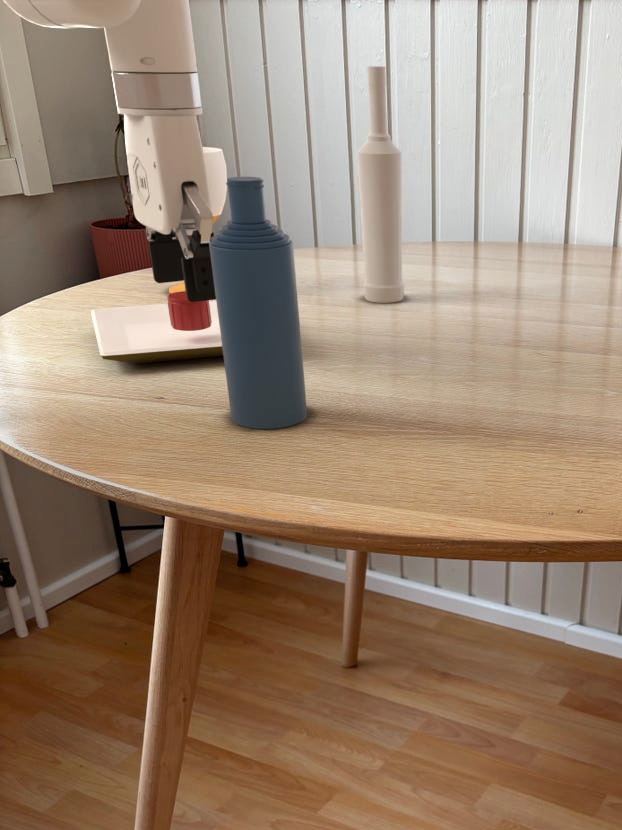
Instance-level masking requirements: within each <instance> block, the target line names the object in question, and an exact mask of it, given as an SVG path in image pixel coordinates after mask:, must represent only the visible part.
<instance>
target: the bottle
mask: <svg viewBox="0 0 622 830" xmlns="http://www.w3.org/2000/svg"><path fill="white" fill-rule="evenodd" d="M366 72H367V73H366V74H367V75H366V76H367V87H368V109H369V110H368V111H369V112H368V113H369V114H368V116H369V133H368V134H367V135H366V140H365V142H364V143H363V144H362V145H361V146H360V148H358V149H357V151H356V157H357V158H356V159H357V175H358V176H357V177H358V190H359V204H360V205H359V206H360V220H361V223H360V224H361V236H362V238H361V239H362V252H363V268H364V270H363V271H364V281H363V284H362V288H363V296H364V298H365V300H366V301H368V302H371V303H377V304H390V303H392V304H393V303H397V302H400V301H402V300H404V295H405V282H404V281H403V204H402V203H403V200H402V199H403V197H402V196H403V195H402V194H403V193H402V189H403V188H402V185H403V184H402V183H403V182H402V181H403V180H402V177H403V175H402V150H400V149H399V148H398V147H397V145H395V143H394V142H393V141H392V140H391V135H390V134H389V133H388V119H387V116H388V115H387V91H386V87H387V72H386V66H382V65H378V66H377V65H367V66H366Z"/></svg>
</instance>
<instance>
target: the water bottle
mask: <svg viewBox="0 0 622 830" xmlns="http://www.w3.org/2000/svg"><path fill="white" fill-rule="evenodd" d="M263 183H264V179H263V178H261V177H259V176H258V177H257V176H232V177H227V183H226V185H227V192H228V193H227V194H228V202H229V210H230V220H227V221H226V224H225V225H223V226H222V227H221V229H220V230H218V231H217V232H216V234H214V236H213V237H212V238H211V242H210V243H209V248H210V256H211V264H212V271H213V279H214V287H215V295H216V299H215V300H216V302H217V310H218V318H219V326H220V333H221V341H222V349H223V356H222V357H223V363H224V364H223V365H224V370H225V371H224V372H225V379H226V388H227V395H228V403H229V411H230V417H231V421H232V422H233V423H234V424H235V425H237V426H240V427H243V428H248V429H254V430H255V429H256V430H273V429H274V430H275V429H282V428H287V427H291V426H295V425H298V424H300V423H302V422H303V421H305V420H306V419H307V417H308V407H307V395H306V383H305V373H304V372H305V371H304V359H303V347H302V336H301V324H300V323H301V322H300V311H299V299H298V298H299V297H298V288H297V276H296V264H295V253H294V241H292V239H290V235H288V234H286V233H284V231H283V230H282V229H280V228H278V226H277V225H276V224H273V223H272V221H271V220H269V219H267V216H266V215H267V214H266V206H265V197H264V188H265V184H263Z"/></svg>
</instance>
